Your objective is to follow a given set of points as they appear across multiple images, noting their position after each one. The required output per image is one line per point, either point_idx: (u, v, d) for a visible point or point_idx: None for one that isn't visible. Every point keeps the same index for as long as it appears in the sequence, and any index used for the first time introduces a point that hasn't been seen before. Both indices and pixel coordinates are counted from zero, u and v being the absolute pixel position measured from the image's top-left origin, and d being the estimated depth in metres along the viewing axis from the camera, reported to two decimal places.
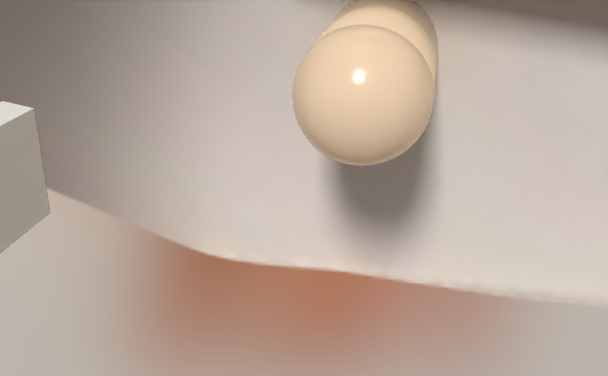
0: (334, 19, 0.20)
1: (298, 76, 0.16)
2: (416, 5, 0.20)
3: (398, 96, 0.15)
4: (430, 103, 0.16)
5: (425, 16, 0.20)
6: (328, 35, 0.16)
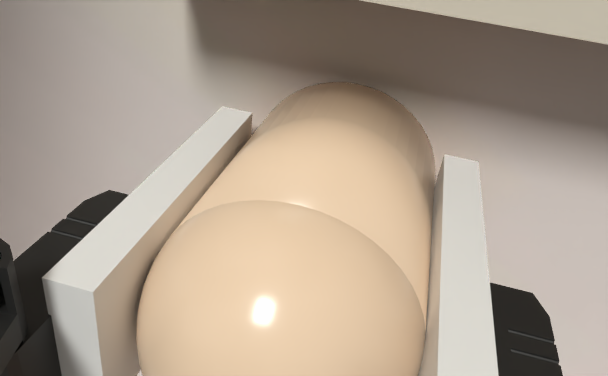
0: (251, 137, 0.11)
1: (140, 301, 0.08)
2: (398, 106, 0.12)
3: None
4: (415, 370, 0.08)
5: (413, 127, 0.12)
6: (200, 221, 0.08)
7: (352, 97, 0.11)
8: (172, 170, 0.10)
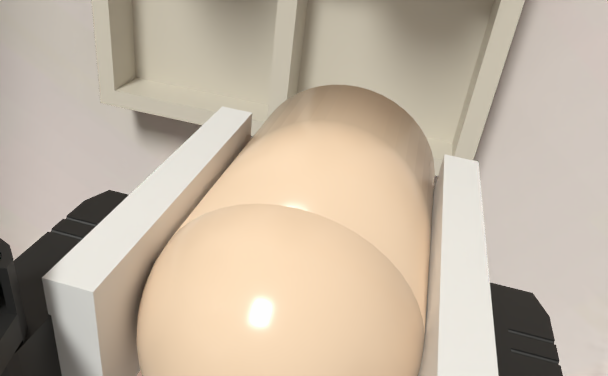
0: (251, 139, 0.11)
1: (140, 304, 0.08)
2: (397, 109, 0.12)
3: None
4: (414, 373, 0.08)
5: (412, 130, 0.12)
6: (200, 224, 0.08)
7: (352, 100, 0.11)
8: (172, 170, 0.10)
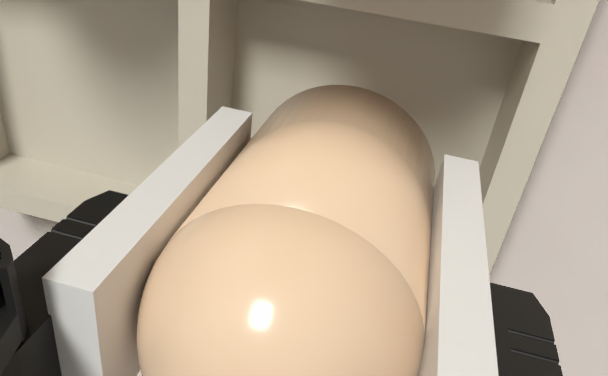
0: (251, 139, 0.11)
1: (140, 304, 0.08)
2: (397, 109, 0.12)
3: None
4: (414, 373, 0.08)
5: (412, 130, 0.12)
6: (200, 224, 0.08)
7: (352, 100, 0.11)
8: (172, 170, 0.10)
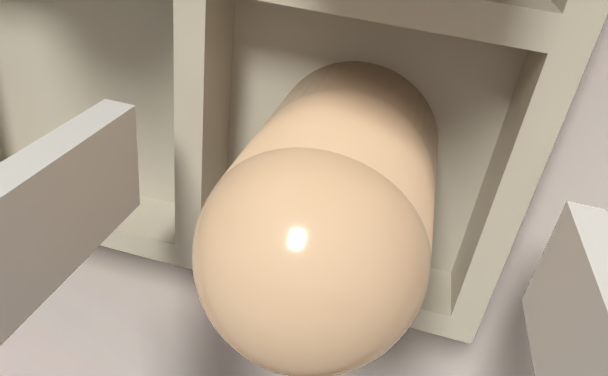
0: (278, 107, 0.13)
1: (196, 232, 0.10)
2: (405, 82, 0.14)
3: (363, 293, 0.08)
4: (423, 286, 0.09)
5: (419, 100, 0.13)
6: (246, 164, 0.09)
7: (366, 73, 0.13)
8: (17, 163, 0.09)
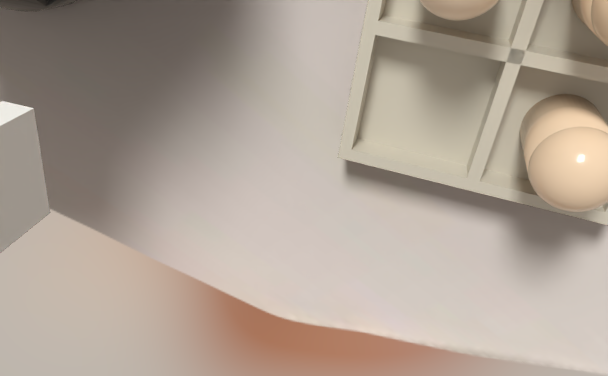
0: (541, 113, 0.30)
1: (541, 156, 0.27)
2: (592, 104, 0.31)
3: None
4: None
5: (599, 112, 0.30)
6: (562, 132, 0.27)
7: (578, 99, 0.30)
8: None
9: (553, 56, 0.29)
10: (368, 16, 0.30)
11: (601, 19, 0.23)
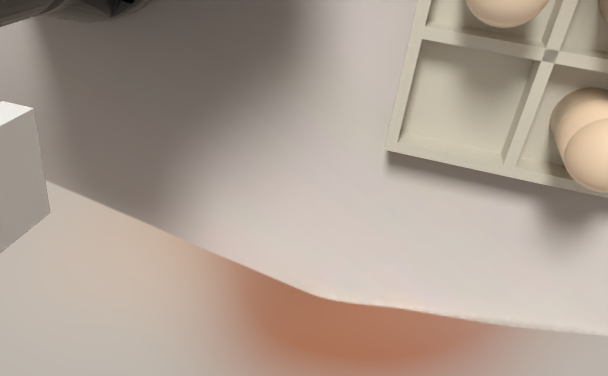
0: (572, 105, 0.34)
1: (578, 144, 0.30)
2: None
3: None
4: None
5: None
6: (596, 123, 0.30)
7: (604, 92, 0.34)
8: None
9: (583, 55, 0.32)
10: (416, 22, 0.34)
11: None
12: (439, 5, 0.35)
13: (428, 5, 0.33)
